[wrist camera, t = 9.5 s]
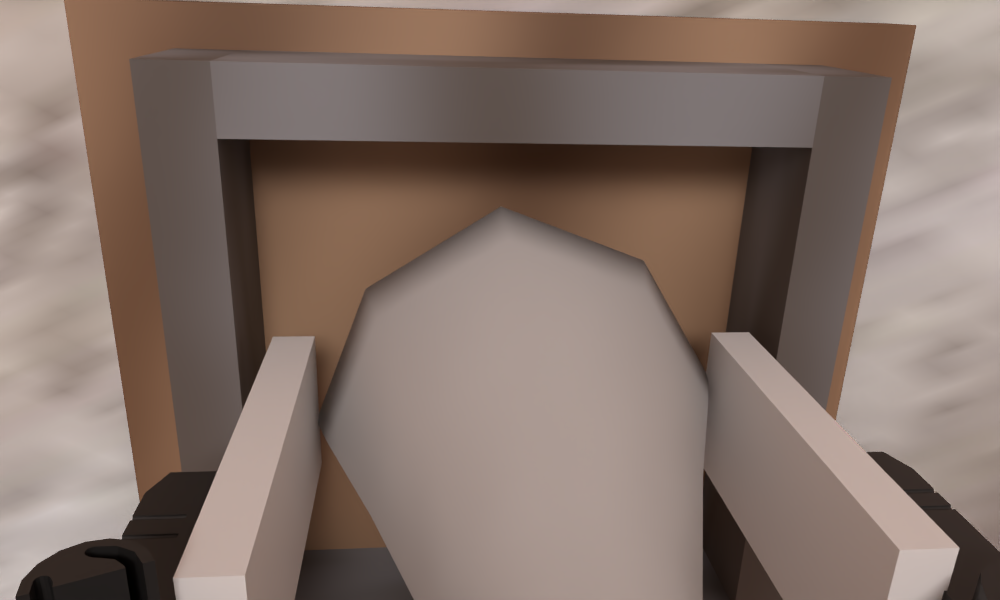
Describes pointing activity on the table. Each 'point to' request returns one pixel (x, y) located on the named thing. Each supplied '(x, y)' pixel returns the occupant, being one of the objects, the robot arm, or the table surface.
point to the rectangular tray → (464, 197)
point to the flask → (525, 421)
